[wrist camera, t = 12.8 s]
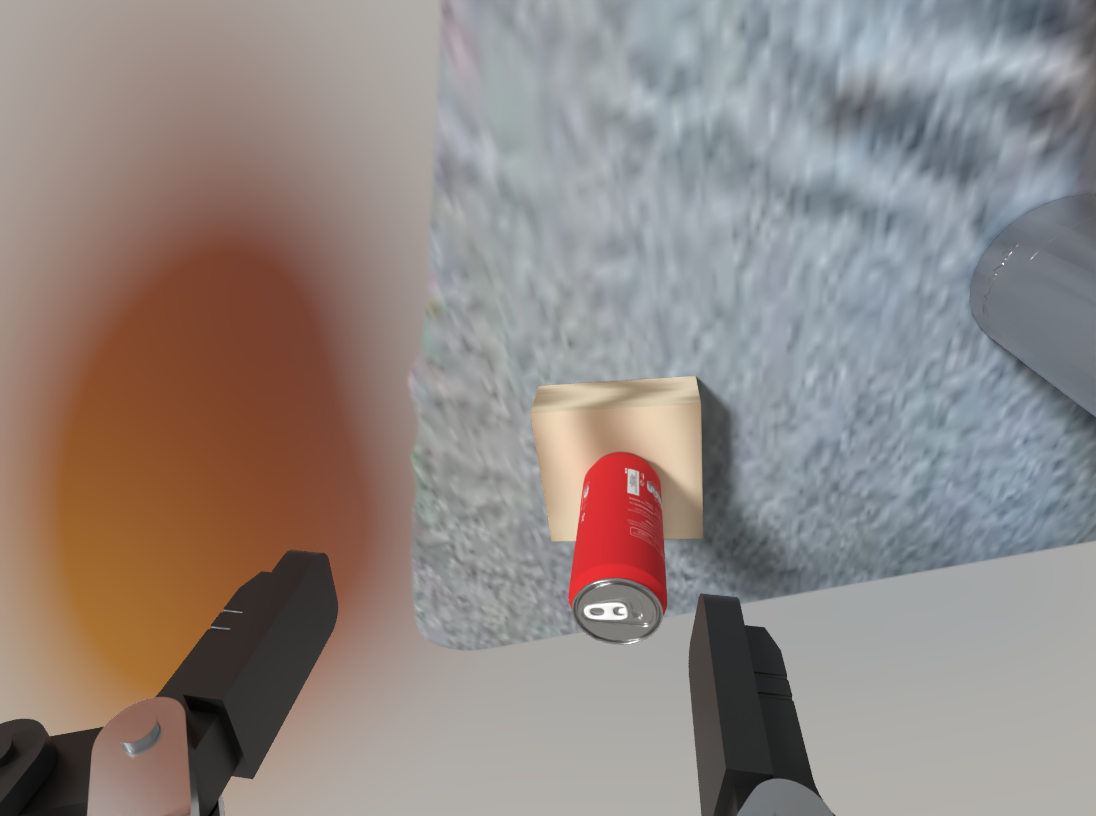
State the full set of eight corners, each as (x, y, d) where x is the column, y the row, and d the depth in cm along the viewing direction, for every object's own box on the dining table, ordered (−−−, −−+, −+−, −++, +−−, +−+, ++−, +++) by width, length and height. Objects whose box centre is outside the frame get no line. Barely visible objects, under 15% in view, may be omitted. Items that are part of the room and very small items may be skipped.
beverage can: (663, 505, 42) (671, 647, 32) (590, 510, 43) (574, 648, 33) (656, 443, 40) (663, 574, 30) (579, 449, 41) (559, 578, 31)
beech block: (695, 376, 42) (701, 403, 38) (698, 504, 47) (703, 538, 43) (538, 385, 44) (530, 413, 40) (557, 507, 49) (551, 541, 45)
